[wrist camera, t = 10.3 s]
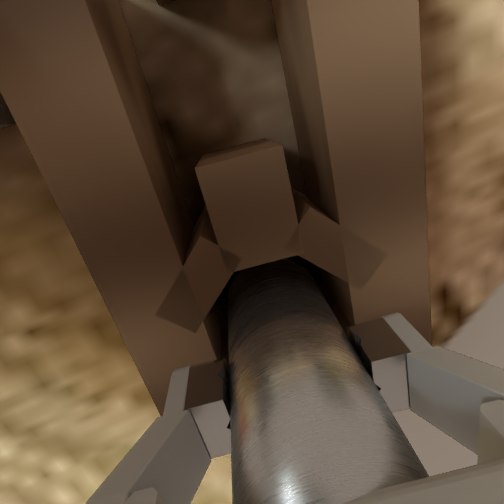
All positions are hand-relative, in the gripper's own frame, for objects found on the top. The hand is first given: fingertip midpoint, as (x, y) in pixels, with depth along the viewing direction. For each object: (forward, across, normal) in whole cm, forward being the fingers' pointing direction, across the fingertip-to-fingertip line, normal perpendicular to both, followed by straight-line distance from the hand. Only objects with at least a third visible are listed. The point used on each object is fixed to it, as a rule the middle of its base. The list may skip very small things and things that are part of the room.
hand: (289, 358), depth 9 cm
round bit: (+4, 0, 0) cm, 4 cm away
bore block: (+5, 0, -4) cm, 7 cm away
